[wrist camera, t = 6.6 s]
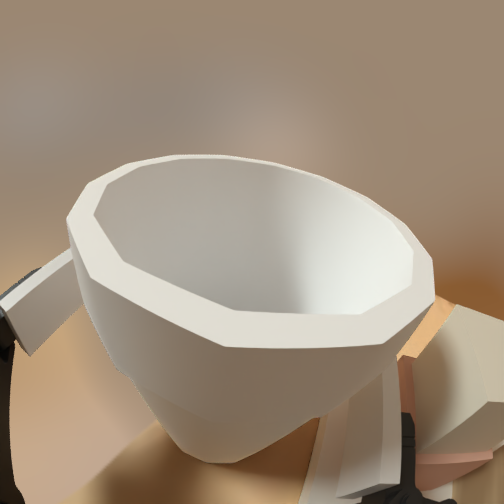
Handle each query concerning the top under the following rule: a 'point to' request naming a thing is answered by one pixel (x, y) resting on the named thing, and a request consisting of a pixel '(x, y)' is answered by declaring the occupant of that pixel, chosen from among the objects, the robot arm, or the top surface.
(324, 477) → the white board
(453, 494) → the oak plinth
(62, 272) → the robot arm
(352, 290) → the foam cup
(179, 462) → the top surface
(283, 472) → the top surface
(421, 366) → the terracotta tower
